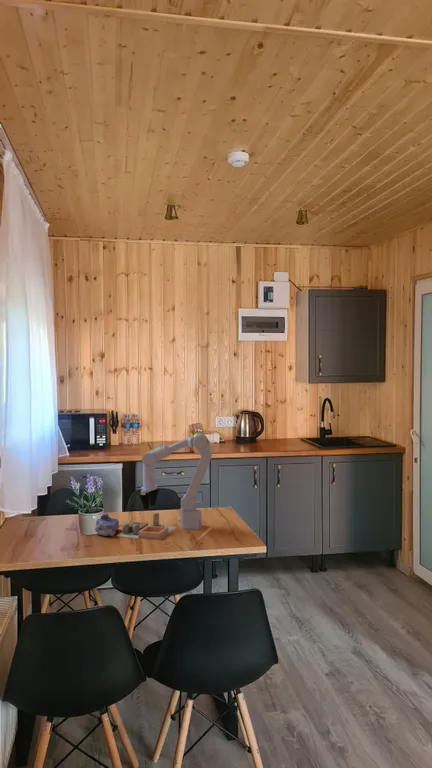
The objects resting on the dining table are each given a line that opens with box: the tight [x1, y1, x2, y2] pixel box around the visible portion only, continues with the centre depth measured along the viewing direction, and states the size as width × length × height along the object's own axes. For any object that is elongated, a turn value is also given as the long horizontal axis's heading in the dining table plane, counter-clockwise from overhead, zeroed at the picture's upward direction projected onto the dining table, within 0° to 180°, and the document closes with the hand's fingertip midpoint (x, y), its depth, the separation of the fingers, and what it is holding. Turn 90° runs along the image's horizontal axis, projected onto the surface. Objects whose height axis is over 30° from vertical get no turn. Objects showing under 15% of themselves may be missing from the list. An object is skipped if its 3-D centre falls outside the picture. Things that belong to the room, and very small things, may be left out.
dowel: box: [152, 512, 160, 526], centre depth 255 cm, size 3×3×7 cm
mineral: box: [94, 512, 120, 537], centre depth 250 cm, size 14×10×10 cm
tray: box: [137, 526, 168, 540], centre depth 246 cm, size 10×10×2 cm
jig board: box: [115, 522, 177, 541], centre depth 252 cm, size 21×20×5 cm
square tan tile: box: [128, 521, 149, 533], centre depth 254 cm, size 8×8×2 cm
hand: (149, 507), depth 259 cm, fingers open, 7 cm apart
